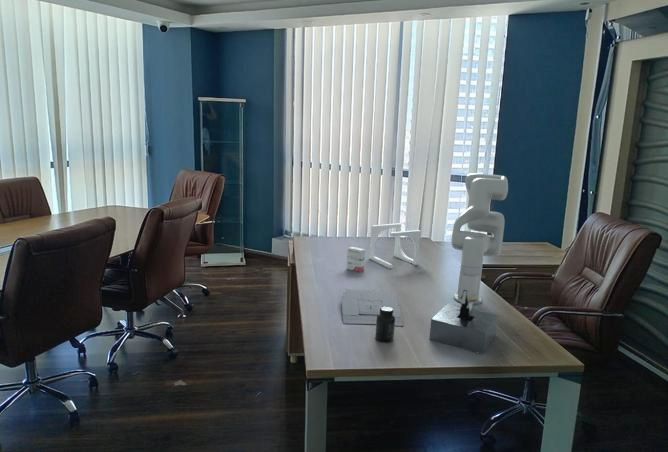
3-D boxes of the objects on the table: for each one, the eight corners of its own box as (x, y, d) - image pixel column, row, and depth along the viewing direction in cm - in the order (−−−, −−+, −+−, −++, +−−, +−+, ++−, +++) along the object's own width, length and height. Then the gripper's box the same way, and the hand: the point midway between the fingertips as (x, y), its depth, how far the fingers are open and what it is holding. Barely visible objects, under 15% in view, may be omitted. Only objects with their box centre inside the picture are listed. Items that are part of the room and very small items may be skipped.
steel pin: (459, 313, 192) (462, 290, 190) (475, 317, 189) (478, 294, 187) (455, 318, 187) (457, 295, 185) (470, 322, 184) (473, 298, 182)
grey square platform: (445, 322, 203) (448, 303, 201) (495, 334, 193) (498, 315, 192) (429, 339, 186) (431, 318, 184) (482, 354, 176) (485, 332, 175)
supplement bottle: (392, 335, 188) (394, 305, 185) (394, 343, 181) (397, 312, 179) (374, 334, 188) (376, 304, 185) (376, 342, 181) (378, 311, 178)
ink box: (364, 270, 266) (366, 249, 264) (360, 272, 262) (361, 250, 260) (350, 266, 271) (352, 246, 268) (346, 268, 267) (347, 247, 264)
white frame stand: (417, 264, 282) (421, 230, 278) (389, 268, 272) (392, 233, 268) (396, 255, 299) (399, 223, 295) (369, 258, 289) (371, 225, 285)
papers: (394, 296, 225) (394, 289, 224) (403, 332, 197) (404, 324, 196) (340, 294, 225) (341, 287, 223) (342, 329, 196) (342, 321, 195)
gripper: (467, 262, 193) (462, 306, 197) (454, 272, 179) (449, 320, 183) (486, 266, 189) (481, 311, 193) (475, 277, 175) (469, 325, 179)
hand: (465, 315), depth 188 cm, fingers closed on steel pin, 4 cm apart
